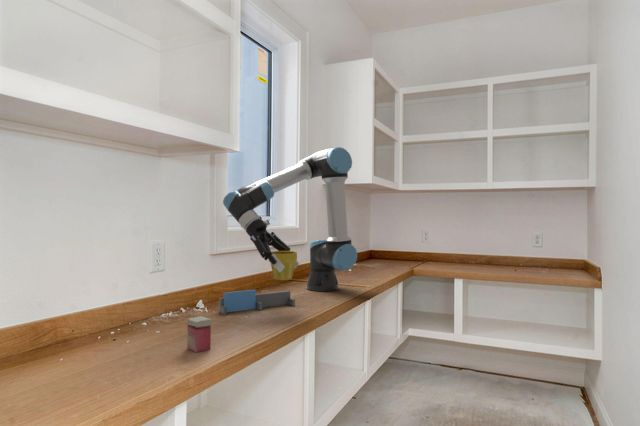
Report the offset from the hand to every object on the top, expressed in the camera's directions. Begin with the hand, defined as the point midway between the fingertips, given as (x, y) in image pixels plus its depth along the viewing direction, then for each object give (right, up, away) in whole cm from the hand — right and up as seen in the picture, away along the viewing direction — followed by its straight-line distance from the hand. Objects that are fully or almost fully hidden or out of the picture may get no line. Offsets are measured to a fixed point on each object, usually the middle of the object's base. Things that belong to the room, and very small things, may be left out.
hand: (289, 268), depth 150 cm
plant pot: (-3, -4, +1) cm, 5 cm away
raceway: (-12, -16, +4) cm, 20 cm away
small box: (-21, -16, -42) cm, 49 cm away
